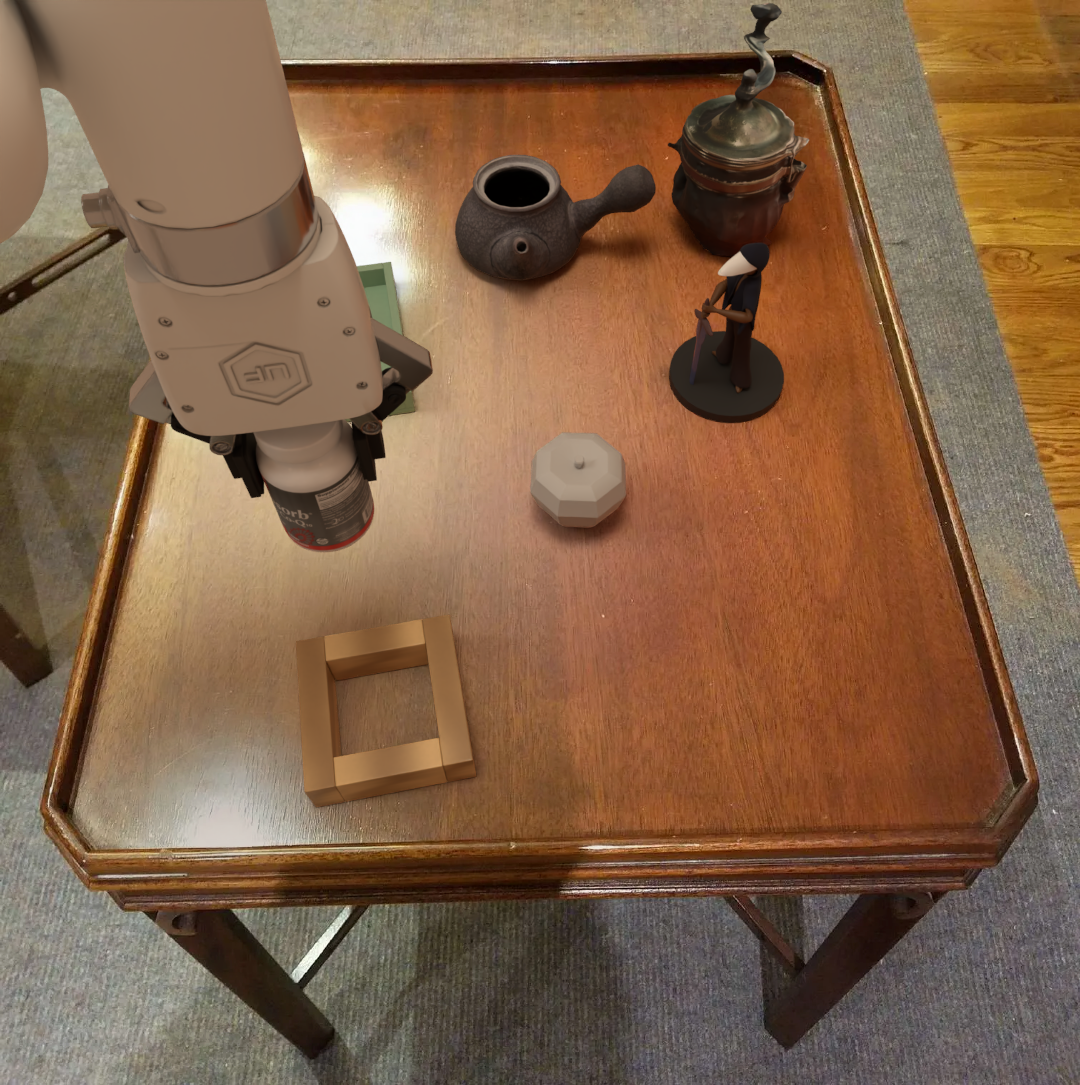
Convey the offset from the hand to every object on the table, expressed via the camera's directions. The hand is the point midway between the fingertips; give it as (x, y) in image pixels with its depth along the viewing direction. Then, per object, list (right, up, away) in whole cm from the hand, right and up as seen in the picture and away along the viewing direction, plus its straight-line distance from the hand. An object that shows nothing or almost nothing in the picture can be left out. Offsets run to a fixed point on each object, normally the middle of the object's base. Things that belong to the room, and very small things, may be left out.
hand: (313, 467), depth 53 cm
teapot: (+14, +24, +38) cm, 47 cm away
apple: (+16, -2, +22) cm, 27 cm away
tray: (-7, +13, +31) cm, 34 cm away
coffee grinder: (+32, +29, +41) cm, 59 cm away
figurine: (+30, +10, +29) cm, 43 cm away
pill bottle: (0, -3, +5) cm, 5 cm away
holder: (+2, -17, +12) cm, 21 cm away
